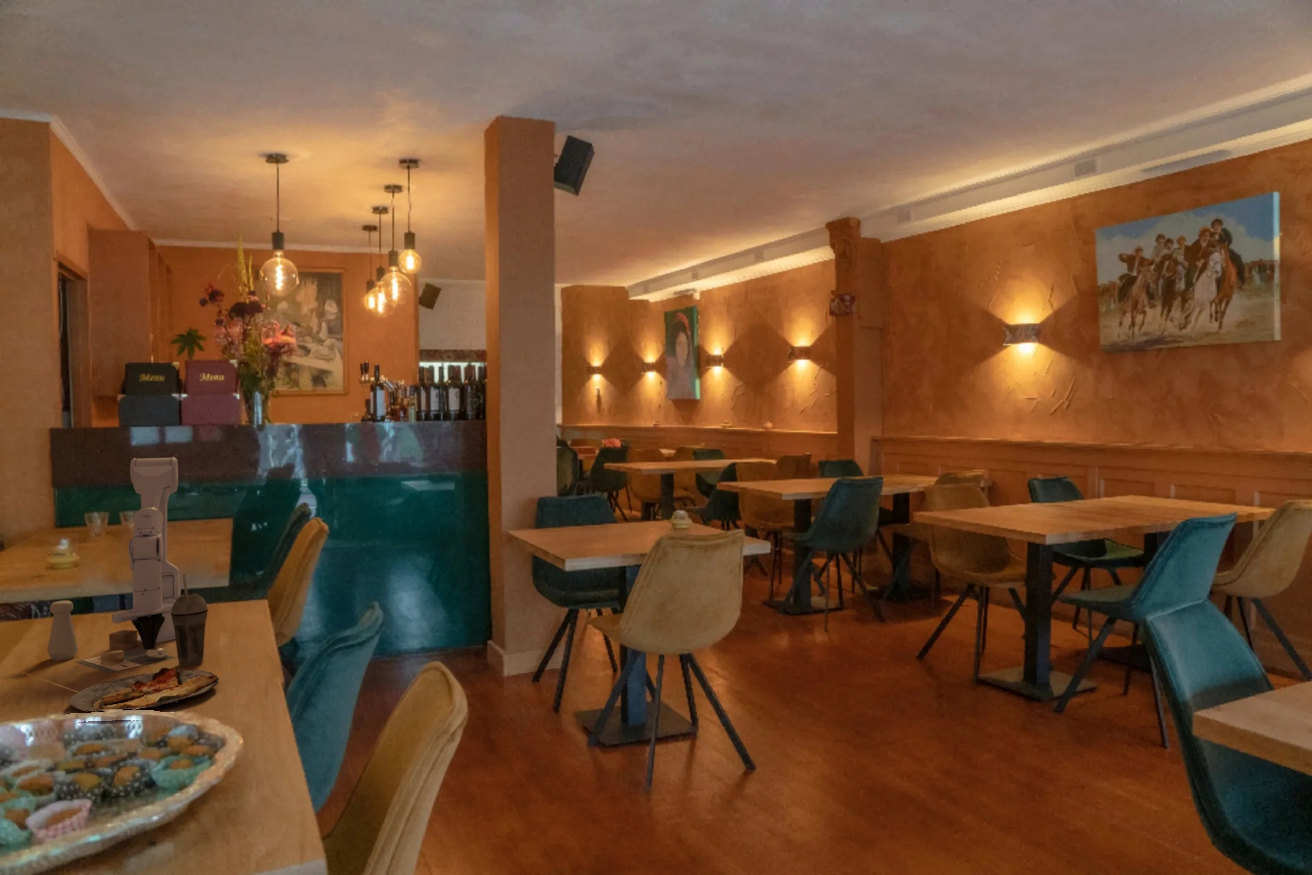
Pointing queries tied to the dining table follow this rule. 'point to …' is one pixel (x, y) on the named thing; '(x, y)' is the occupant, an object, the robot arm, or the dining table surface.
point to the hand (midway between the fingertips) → (149, 649)
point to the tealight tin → (156, 654)
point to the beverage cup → (189, 627)
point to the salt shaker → (62, 632)
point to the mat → (130, 660)
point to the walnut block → (123, 640)
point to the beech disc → (112, 657)
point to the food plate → (146, 689)
